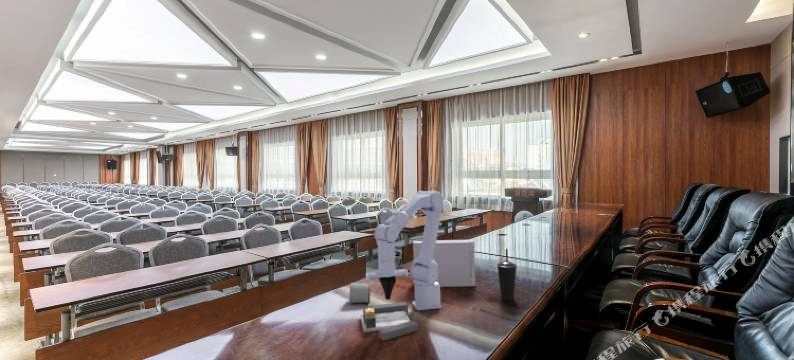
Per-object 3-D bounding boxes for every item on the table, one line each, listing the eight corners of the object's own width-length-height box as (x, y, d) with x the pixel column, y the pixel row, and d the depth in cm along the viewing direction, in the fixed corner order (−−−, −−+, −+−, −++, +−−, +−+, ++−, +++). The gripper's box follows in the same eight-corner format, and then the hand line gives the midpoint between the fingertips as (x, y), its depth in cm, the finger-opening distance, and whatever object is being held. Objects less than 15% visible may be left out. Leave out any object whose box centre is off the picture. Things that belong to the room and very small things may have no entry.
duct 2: (413, 327, 117) (413, 320, 117) (418, 331, 115) (418, 323, 115) (378, 338, 111) (378, 330, 111) (383, 341, 108) (383, 333, 108)
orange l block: (373, 318, 122) (373, 307, 122) (374, 321, 119) (374, 310, 119) (365, 318, 121) (364, 307, 121) (365, 322, 118) (365, 311, 118)
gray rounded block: (370, 305, 137) (370, 285, 137) (349, 306, 137) (348, 286, 137) (370, 296, 148) (370, 277, 148) (351, 296, 147) (350, 278, 147)
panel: (404, 313, 128) (404, 302, 128) (411, 326, 117) (411, 314, 117) (360, 318, 125) (360, 306, 125) (363, 332, 114) (363, 319, 114)
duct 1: (405, 309, 133) (405, 302, 132) (408, 313, 130) (407, 304, 130) (371, 313, 130) (371, 305, 129) (373, 317, 127) (372, 308, 127)
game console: (476, 286, 156) (475, 242, 156) (414, 287, 157) (413, 243, 156) (473, 282, 162) (472, 239, 162) (414, 283, 162) (413, 240, 162)
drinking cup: (496, 301, 139) (495, 250, 138) (498, 294, 146) (497, 246, 145) (516, 303, 136) (516, 251, 135) (518, 296, 143) (517, 247, 142)
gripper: (403, 254, 126) (404, 292, 127) (363, 258, 123) (364, 297, 123) (409, 259, 120) (410, 299, 120) (367, 263, 116) (368, 304, 116)
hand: (387, 298), depth 121 cm, fingers closed
